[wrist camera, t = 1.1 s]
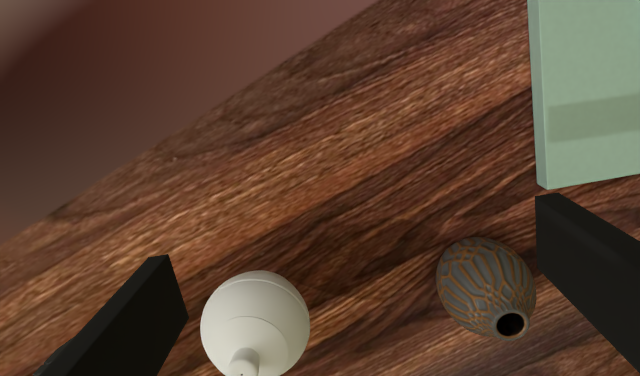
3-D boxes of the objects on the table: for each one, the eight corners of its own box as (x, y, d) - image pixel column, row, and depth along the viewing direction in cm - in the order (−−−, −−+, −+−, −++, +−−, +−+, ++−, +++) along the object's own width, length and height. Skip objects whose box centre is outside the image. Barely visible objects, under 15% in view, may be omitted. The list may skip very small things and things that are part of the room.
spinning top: (249, 323, 37) (213, 439, 26) (212, 252, 35) (154, 343, 24) (327, 297, 36) (325, 404, 25) (293, 222, 34) (274, 302, 23)
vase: (522, 276, 35) (581, 342, 27) (449, 310, 37) (484, 384, 28) (489, 211, 34) (541, 260, 25) (413, 249, 35) (439, 308, 26)
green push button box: (526, -10, 29) (551, -19, 25) (722, -53, 28) (775, -69, 24) (536, 184, 33) (559, 197, 30) (707, 153, 32) (752, 163, 28)
